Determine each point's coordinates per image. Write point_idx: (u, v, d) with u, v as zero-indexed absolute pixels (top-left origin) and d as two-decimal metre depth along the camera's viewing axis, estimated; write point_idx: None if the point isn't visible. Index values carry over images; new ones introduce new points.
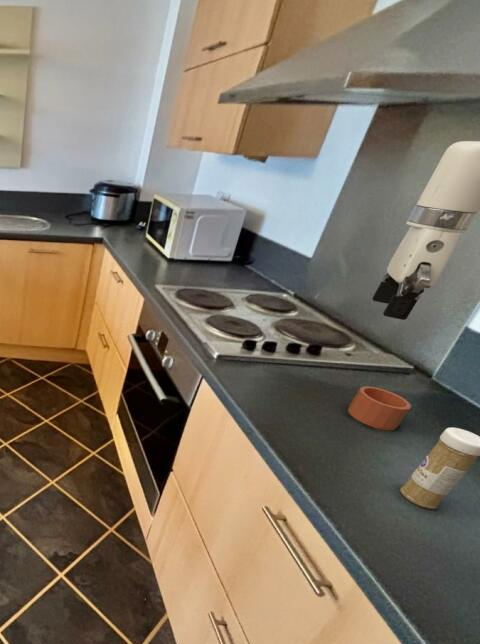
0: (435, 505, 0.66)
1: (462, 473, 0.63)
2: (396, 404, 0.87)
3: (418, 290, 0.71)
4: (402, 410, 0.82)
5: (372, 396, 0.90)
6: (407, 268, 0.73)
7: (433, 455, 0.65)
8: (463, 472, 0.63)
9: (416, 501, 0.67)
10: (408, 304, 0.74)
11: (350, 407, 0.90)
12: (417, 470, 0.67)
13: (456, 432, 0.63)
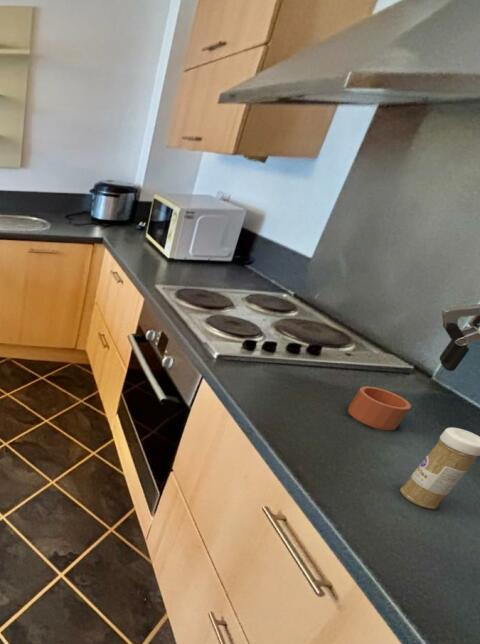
0: (435, 505, 0.66)
1: (462, 473, 0.63)
2: (396, 404, 0.87)
3: None
4: (402, 410, 0.82)
5: (372, 396, 0.90)
6: None
7: (433, 455, 0.65)
8: (463, 472, 0.63)
9: (416, 501, 0.67)
10: None
11: (350, 407, 0.90)
12: (417, 470, 0.67)
13: (456, 432, 0.63)
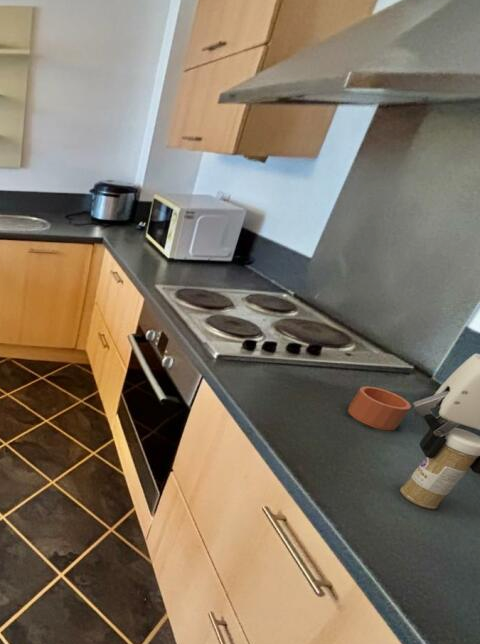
0: (435, 505, 0.66)
1: (462, 473, 0.63)
2: (396, 404, 0.87)
3: None
4: (402, 410, 0.82)
5: (372, 396, 0.90)
6: None
7: None
8: (463, 472, 0.63)
9: (416, 501, 0.67)
10: None
11: (350, 407, 0.90)
12: (417, 470, 0.67)
13: (456, 432, 0.63)
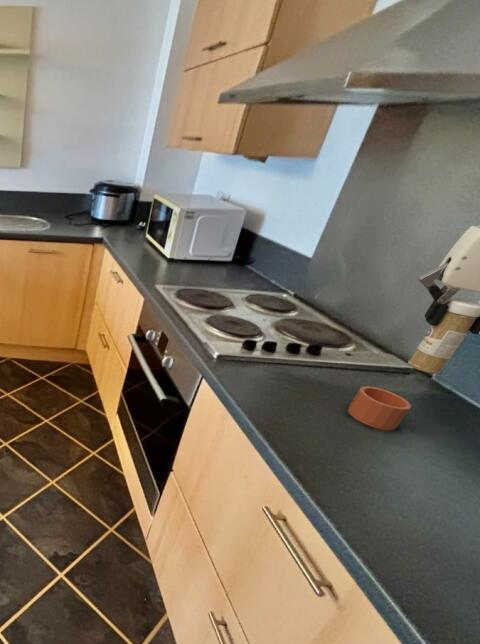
0: (439, 370, 0.75)
1: (463, 335, 0.72)
2: (396, 404, 0.87)
3: None
4: (402, 410, 0.82)
5: (372, 396, 0.90)
6: None
7: None
8: (463, 334, 0.71)
9: (422, 368, 0.76)
10: None
11: (350, 407, 0.90)
12: (423, 341, 0.76)
13: (457, 300, 0.72)
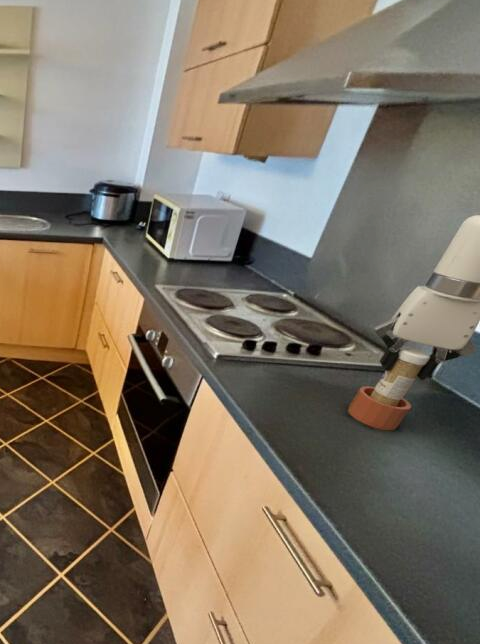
0: None
1: (411, 380, 0.81)
2: None
3: None
4: (402, 410, 0.82)
5: None
6: (469, 338, 0.75)
7: None
8: (412, 379, 0.81)
9: None
10: None
11: (350, 407, 0.90)
12: (378, 383, 0.86)
13: (406, 349, 0.81)
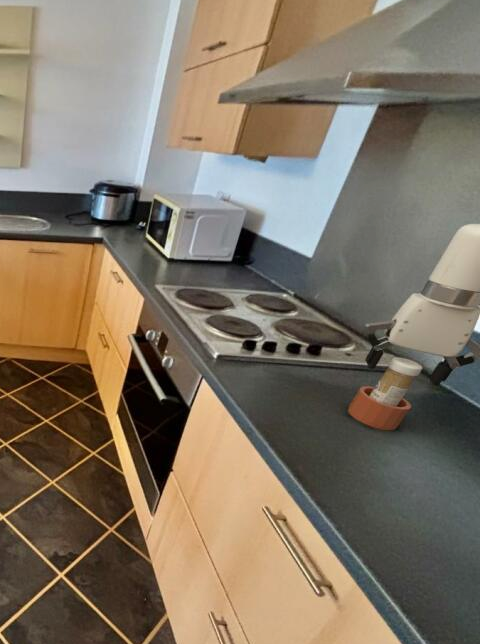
0: None
1: (404, 391, 0.83)
2: None
3: None
4: (402, 410, 0.82)
5: None
6: (464, 345, 0.76)
7: (383, 379, 0.84)
8: (404, 390, 0.82)
9: None
10: None
11: (350, 407, 0.90)
12: (372, 392, 0.87)
13: (399, 360, 0.83)
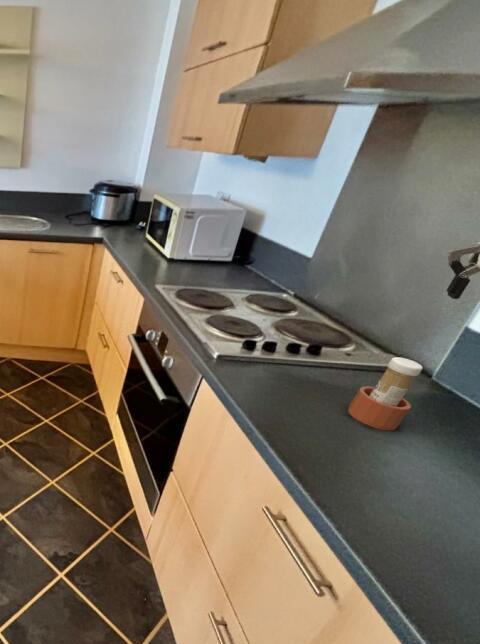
0: None
1: (404, 391, 0.83)
2: None
3: None
4: (402, 410, 0.82)
5: None
6: None
7: (383, 379, 0.84)
8: (404, 390, 0.82)
9: None
10: None
11: (350, 407, 0.90)
12: (372, 392, 0.87)
13: (399, 360, 0.83)
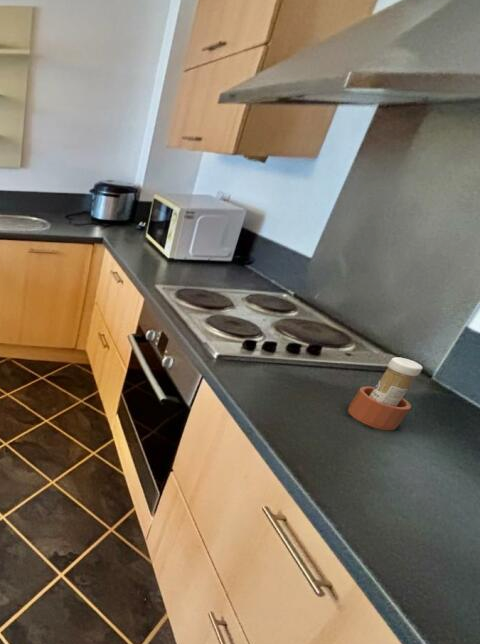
0: None
1: (404, 391, 0.83)
2: None
3: None
4: (402, 410, 0.82)
5: None
6: None
7: (383, 379, 0.84)
8: (404, 390, 0.82)
9: None
10: None
11: (350, 407, 0.90)
12: (372, 392, 0.87)
13: (399, 360, 0.83)
